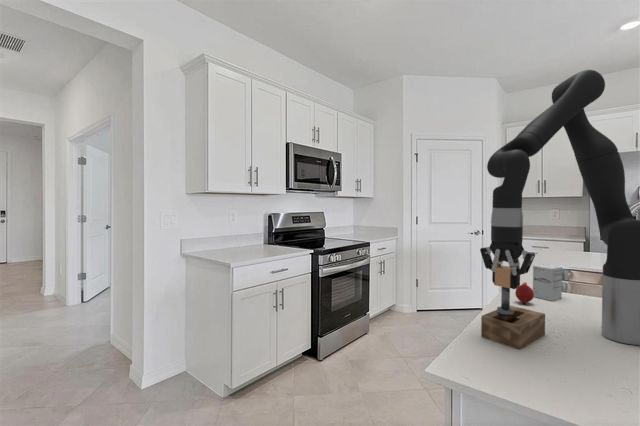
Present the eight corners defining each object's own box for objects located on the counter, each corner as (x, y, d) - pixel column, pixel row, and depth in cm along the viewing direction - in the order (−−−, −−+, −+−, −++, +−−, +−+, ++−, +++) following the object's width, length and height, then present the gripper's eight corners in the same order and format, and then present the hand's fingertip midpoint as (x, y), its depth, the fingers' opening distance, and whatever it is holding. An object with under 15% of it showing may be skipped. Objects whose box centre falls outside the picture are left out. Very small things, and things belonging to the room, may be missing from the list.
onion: (532, 307, 118) (533, 285, 118) (514, 304, 121) (514, 282, 121) (534, 303, 122) (534, 281, 122) (516, 300, 126) (516, 279, 126)
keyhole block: (544, 334, 94) (545, 313, 93) (519, 349, 84) (519, 326, 84) (508, 324, 102) (508, 305, 102) (481, 336, 92) (481, 315, 92)
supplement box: (531, 296, 130) (532, 265, 130) (542, 294, 134) (542, 263, 134) (552, 301, 124) (552, 268, 124) (562, 298, 127) (563, 266, 127)
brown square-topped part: (516, 314, 90) (517, 267, 90) (509, 317, 88) (510, 269, 87) (501, 310, 93) (502, 265, 93) (494, 313, 91) (494, 267, 90)
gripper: (541, 225, 86) (540, 290, 87) (487, 222, 98) (487, 279, 98) (529, 226, 82) (527, 295, 82) (474, 223, 93) (473, 283, 94)
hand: (505, 286), depth 90 cm, fingers closed on brown square-topped part, 4 cm apart
